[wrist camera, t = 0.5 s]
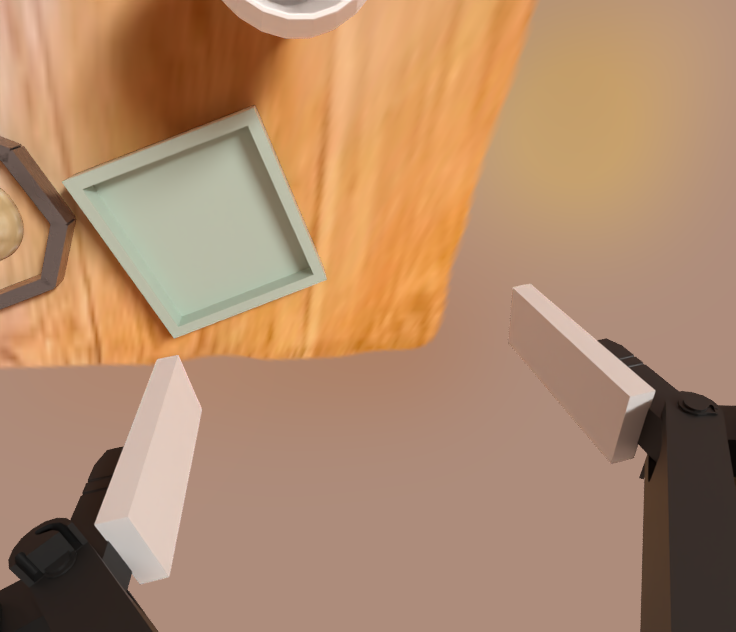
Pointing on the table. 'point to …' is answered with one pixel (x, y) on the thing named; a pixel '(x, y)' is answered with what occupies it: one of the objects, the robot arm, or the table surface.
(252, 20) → the cup
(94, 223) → the green square tray
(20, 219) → the hand bell
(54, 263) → the collar
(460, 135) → the table surface
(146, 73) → the table surface
